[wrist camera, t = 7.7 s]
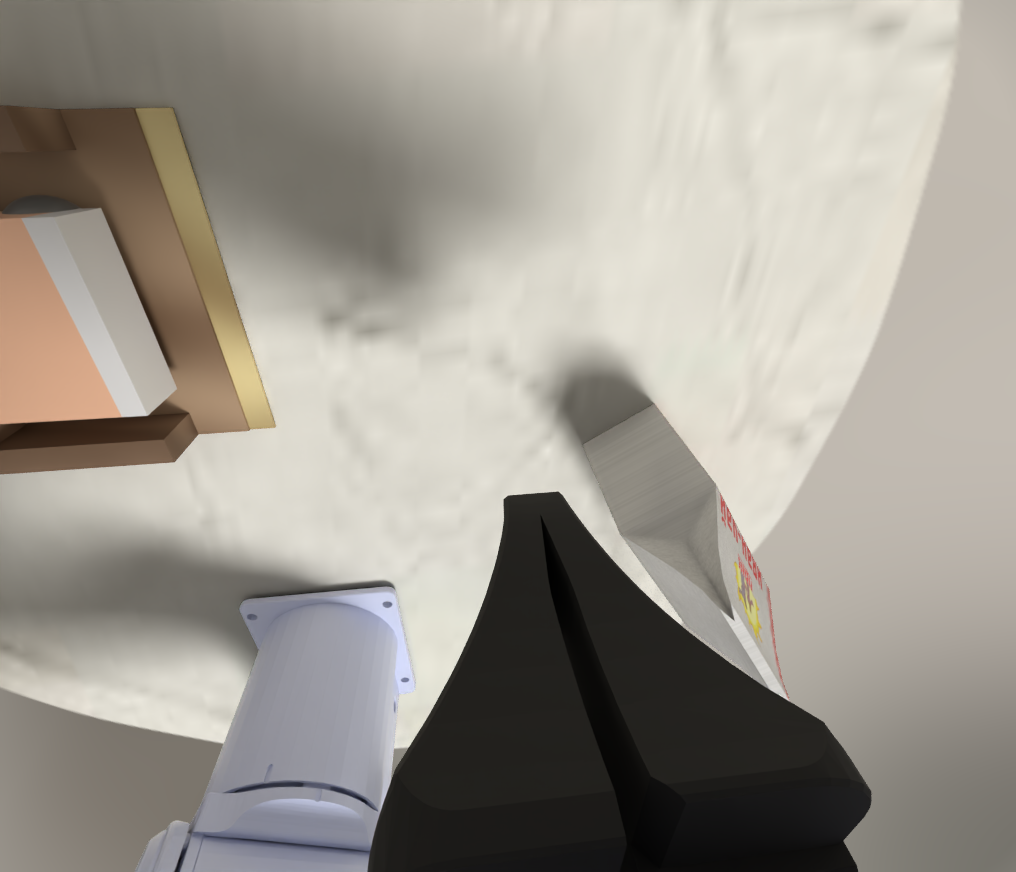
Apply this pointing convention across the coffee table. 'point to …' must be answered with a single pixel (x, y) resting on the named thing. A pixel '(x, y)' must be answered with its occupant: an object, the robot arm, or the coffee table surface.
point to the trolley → (71, 320)
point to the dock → (137, 281)
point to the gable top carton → (687, 540)
